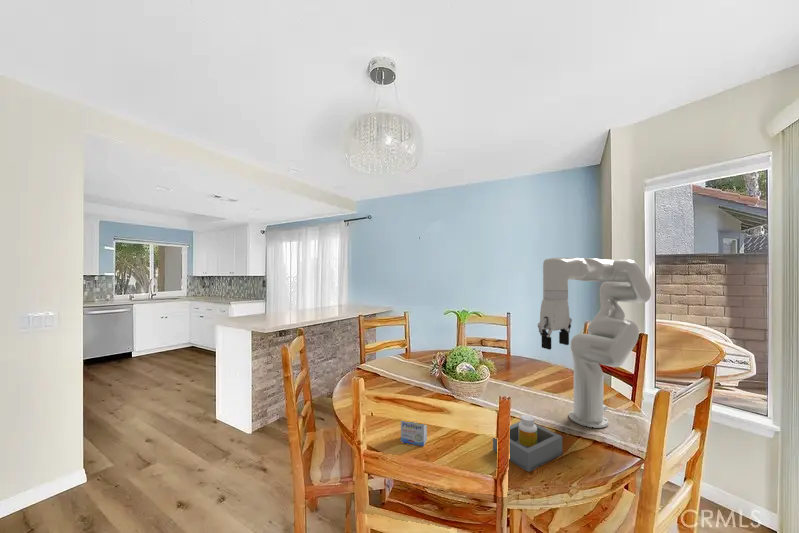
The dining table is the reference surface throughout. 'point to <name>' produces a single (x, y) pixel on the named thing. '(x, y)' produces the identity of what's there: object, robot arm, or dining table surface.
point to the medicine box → (413, 433)
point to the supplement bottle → (527, 431)
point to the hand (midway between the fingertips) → (555, 346)
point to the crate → (533, 448)
